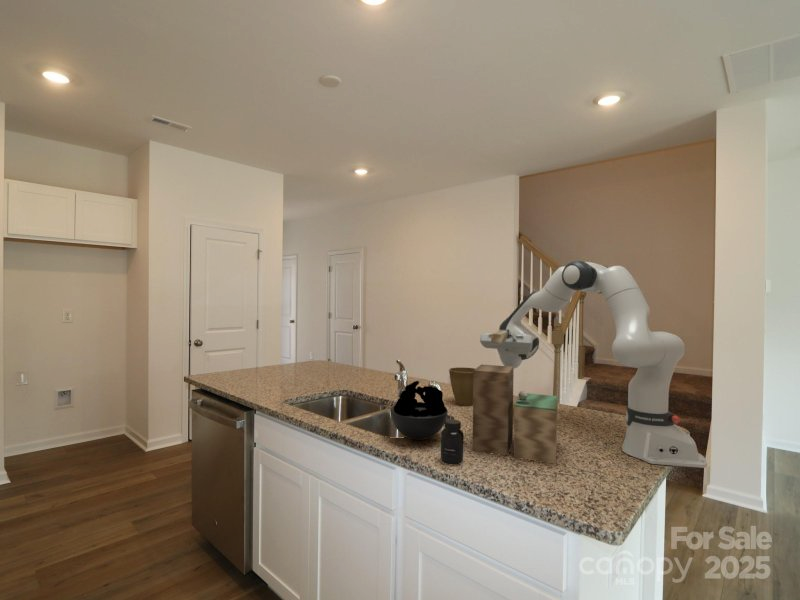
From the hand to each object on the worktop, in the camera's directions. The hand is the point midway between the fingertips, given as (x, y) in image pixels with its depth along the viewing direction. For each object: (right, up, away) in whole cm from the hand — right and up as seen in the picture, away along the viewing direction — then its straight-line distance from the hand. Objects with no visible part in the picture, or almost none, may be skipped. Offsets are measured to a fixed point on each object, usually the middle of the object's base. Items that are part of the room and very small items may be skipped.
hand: (504, 332), depth 159 cm
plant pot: (-10, -36, +34) cm, 50 cm away
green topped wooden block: (+4, -36, -24) cm, 44 cm away
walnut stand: (-9, -36, -21) cm, 43 cm away
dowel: (-3, -2, -8) cm, 9 cm away
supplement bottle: (-24, -36, -33) cm, 55 cm away
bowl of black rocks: (-33, -36, -13) cm, 51 cm away
